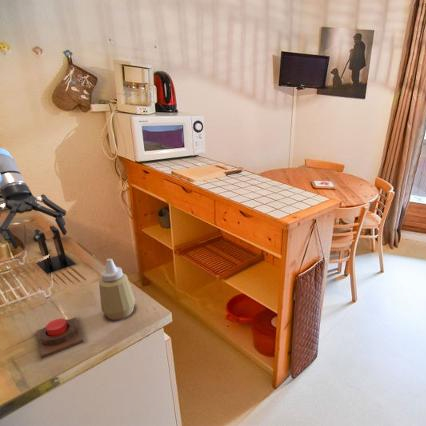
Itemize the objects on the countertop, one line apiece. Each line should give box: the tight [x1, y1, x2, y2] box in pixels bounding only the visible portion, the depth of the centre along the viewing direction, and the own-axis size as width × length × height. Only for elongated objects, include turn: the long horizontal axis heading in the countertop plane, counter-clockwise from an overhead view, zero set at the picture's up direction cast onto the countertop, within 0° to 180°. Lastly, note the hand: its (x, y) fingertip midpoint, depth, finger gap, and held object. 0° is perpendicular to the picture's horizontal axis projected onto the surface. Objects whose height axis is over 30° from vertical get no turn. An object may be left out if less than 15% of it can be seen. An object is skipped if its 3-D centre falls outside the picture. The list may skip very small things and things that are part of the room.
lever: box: [32, 229, 54, 244], centre depth 106 cm, size 14×4×4 cm, turn 55°
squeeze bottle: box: [98, 257, 136, 321], centre depth 86 cm, size 8×8×18 cm
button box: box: [36, 316, 84, 359], centre depth 79 cm, size 10×8×4 cm
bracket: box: [33, 225, 77, 275], centre depth 105 cm, size 10×8×14 cm
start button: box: [45, 318, 68, 336], centre depth 78 cm, size 4×4×2 cm
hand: (41, 240), depth 110 cm, fingers open, 13 cm apart
